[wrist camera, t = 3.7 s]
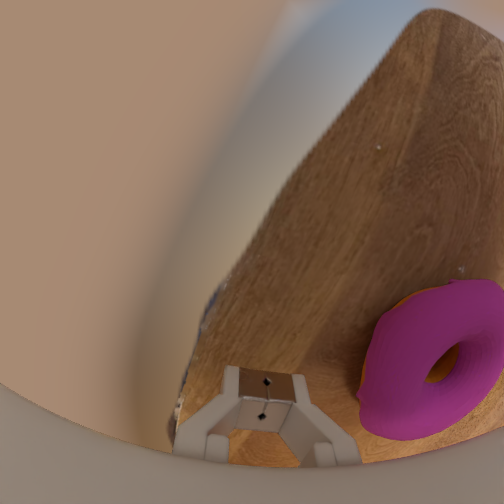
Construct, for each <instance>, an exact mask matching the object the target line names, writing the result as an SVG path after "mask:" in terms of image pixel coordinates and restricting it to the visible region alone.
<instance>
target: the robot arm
mask: <svg viewBox="0 0 504 504" xmlns="http://www.w3.org/2000/svg"><path fill="white" fill-rule="evenodd" d="M234 429H244V430H256V431H264V432H274V433H278V434H279V435H280V437H281V438H282V439H283V441H284V442H285V443H286V445H287V446H288V447H289V449H290V450H291V451H292V453H293V454H294V455H295V456H296V458H297V459H298V460H299V462H300V465H299V466H298V467H297V468H280V467H260V466H247V465H237V464H228V456H229V439H228V438H227V437H228V435H229V434H230V433H231V432H232V431H233V430H234ZM0 504H504V426H502V427H499V428H497V429H495V430H492V431H490V432H487V433H485V434H482V435H480V436H477V437H474V438H472V439H469V440H466V441H463V442H460V443H457V444H454V445H450V446H447V447H444V448H440V449H437V450H433V451H429V452H425V453H421V454H416V455H412V456H407V457H402V458H397V459H392V460H386V461H379V462H373V463H365V464H363V463H362V459H361V456H360V453H359V450H358V447H357V444H356V440H355V439H354V438H353V437H351V436H350V435H349V434H348V433H347V432H345V431H344V430H343V429H342V428H341V427H340V426H339V425H337V424H336V423H335V422H334V421H333V420H332V419H331V418H329V417H328V416H327V415H326V414H325V413H324V412H323V411H322V410H320V409H319V408H318V407H317V406H316V405H315V404H311V401H310V397H309V393H308V388H307V384H306V380H305V376H304V375H303V374H287V373H277V372H269V371H262V370H255V369H249V368H243V367H236V366H231V365H225V369H224V374H223V378H222V383H221V388H220V394H218V395H217V396H216V397H214V398H213V399H212V400H211V401H210V402H208V403H207V404H206V405H205V406H203V407H202V408H201V409H200V410H198V411H197V412H196V413H195V414H193V415H192V416H191V417H189V418H188V419H187V420H186V421H184V422H183V423H182V424H180V425H179V426H178V429H177V433H176V437H175V441H174V446H173V450H172V454H170V453H166V452H162V451H158V450H154V449H150V448H146V447H143V446H139V445H136V444H132V443H129V442H126V441H122V440H120V439H117V438H114V437H111V436H108V435H105V434H102V433H99V432H97V431H94V430H92V429H89V428H87V427H84V426H82V425H79V424H77V423H75V422H72V421H70V420H68V419H66V418H63V417H61V416H59V415H57V414H55V413H53V412H51V411H49V410H47V409H45V408H43V407H41V406H39V405H37V404H35V403H33V402H32V401H30V400H28V399H26V398H24V397H23V396H21V395H19V394H17V393H16V392H14V391H12V390H11V389H9V388H8V387H6V386H4V385H3V384H1V383H0Z"/></svg>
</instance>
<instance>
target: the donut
mask: <svg viewBox="0 0 504 504" xmlns="http://www.w3.org/2000/svg"><path fill="white" fill-rule="evenodd" d="M448 283H449V284H447V285H444V286H438V287H431V288H427V289H423V290H420V291H417V292H415V293H412V294H410V295H408V296H407V297H405V298H404V299H402V300H401V301H400V302H399V303H398V304H396V305H395V306H394V307H393V308H392V309H391V310H390V311H388V312H386V313H384V314H383V315H382V316H381V318H380V319H379V320H378V323H377V325H376V327H375V329H374V333H373V337H372V340H371V343H370V345H369V348H368V351H367V354H366V357H365V361H364V365H363V368H362V377H361V383H360V389H359V390H358V392H357V394H356V397H358V398H359V403H360V412H359V415H360V420H361V424H362V426H363V427H364V428H365V429H366V430H367V431H369V432H371V433H373V434H375V435H378V436H381V437H384V438H388V439H392V440H400V441H406V440H415V439H420V438H424V437H427V436H430V435H433V434H436V433H438V432H440V431H443V430H444V429H446V428H448V427H449V426H451V425H453V424H455V423H456V422H458V421H459V420H460V419H462V418H463V417H464V416H466V415H467V414H468V413H469V412H470V411H472V410H473V409H474V408H475V407H476V406H477V405H478V404H479V403H480V402H481V401H482V400H483V399H484V398H485V397H486V396H487V394H488V393H489V392H490V390H491V389H492V388H493V386H494V385H495V383H496V381H497V380H498V378H499V376H500V374H501V372H502V370H503V367H504V291H503V290H502V288H501V287H500V286H499V285H498V284H497V283H495V282H494V281H491V280H487V279H476V280H471V279H469V280H455V279H450V280H449V282H448Z"/></svg>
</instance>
